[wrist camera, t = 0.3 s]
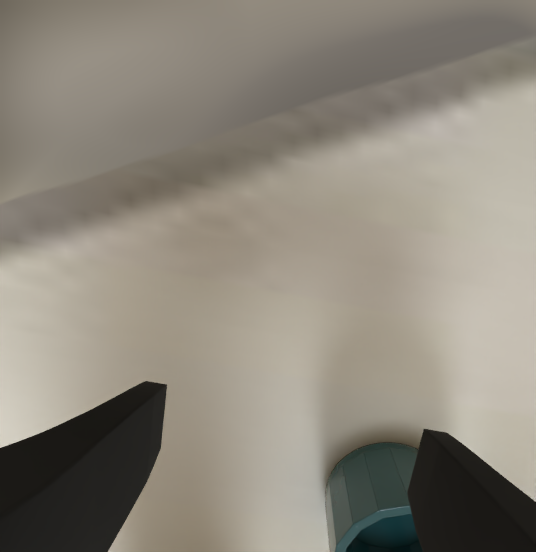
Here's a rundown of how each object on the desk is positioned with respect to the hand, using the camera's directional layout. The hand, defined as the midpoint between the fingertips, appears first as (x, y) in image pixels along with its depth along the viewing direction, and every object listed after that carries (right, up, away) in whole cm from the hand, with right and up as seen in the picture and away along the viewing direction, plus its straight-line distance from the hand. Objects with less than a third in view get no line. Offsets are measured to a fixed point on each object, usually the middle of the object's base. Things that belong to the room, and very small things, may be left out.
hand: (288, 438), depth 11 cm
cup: (+6, -8, +12) cm, 16 cm away
